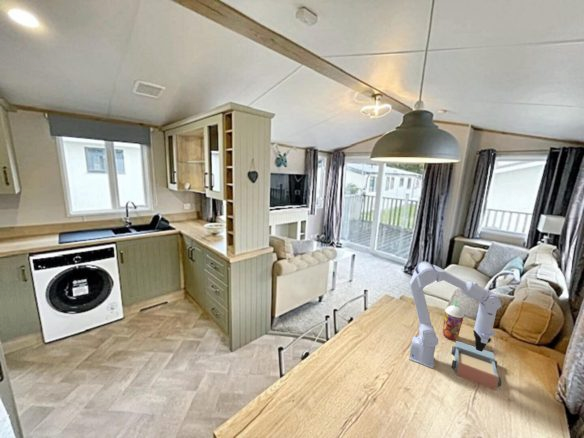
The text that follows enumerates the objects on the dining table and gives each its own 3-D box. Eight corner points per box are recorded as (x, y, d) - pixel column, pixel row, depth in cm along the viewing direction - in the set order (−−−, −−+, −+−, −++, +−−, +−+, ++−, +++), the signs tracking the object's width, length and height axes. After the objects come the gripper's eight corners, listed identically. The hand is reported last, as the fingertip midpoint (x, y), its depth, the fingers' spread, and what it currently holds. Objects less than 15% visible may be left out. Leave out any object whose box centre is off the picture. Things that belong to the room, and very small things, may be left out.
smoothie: (454, 332, 136) (460, 298, 132) (462, 343, 128) (470, 306, 124) (437, 331, 137) (443, 296, 133) (445, 341, 129) (452, 304, 125)
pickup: (451, 371, 108) (453, 361, 108) (451, 349, 123) (453, 339, 122) (500, 390, 100) (503, 378, 99) (494, 363, 115) (496, 353, 114)
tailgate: (456, 374, 107) (458, 363, 106) (456, 373, 107) (458, 362, 106) (495, 390, 100) (498, 377, 99) (495, 388, 101) (498, 376, 100)
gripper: (500, 332, 97) (493, 364, 99) (494, 315, 109) (488, 344, 111) (477, 325, 100) (471, 356, 103) (474, 310, 112) (469, 337, 115)
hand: (478, 349), depth 107 cm, fingers closed
